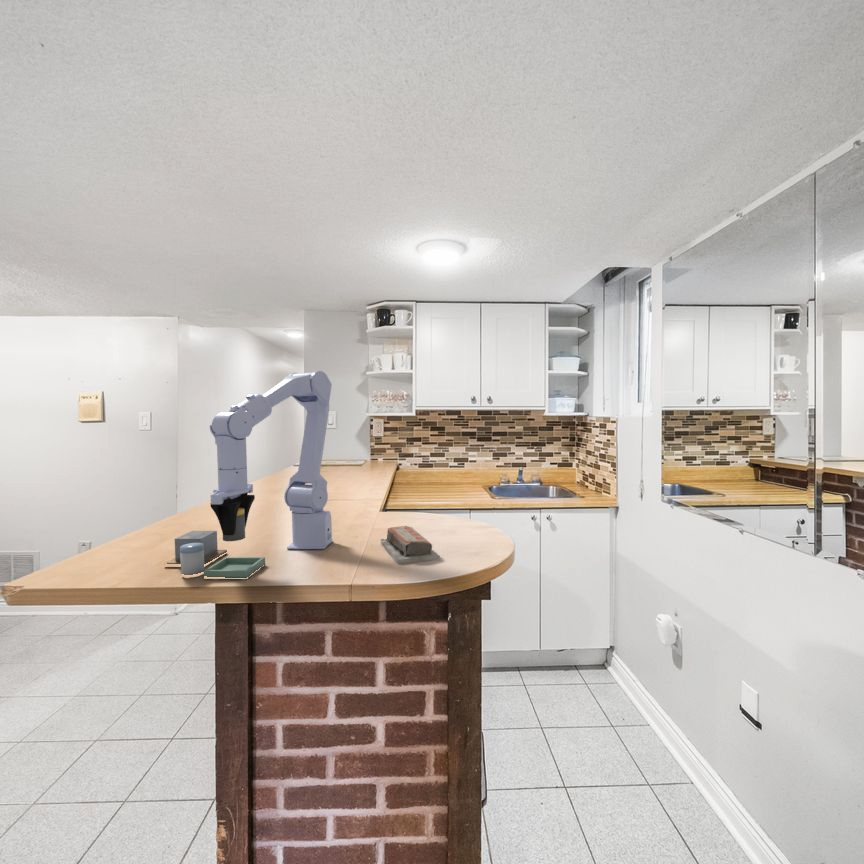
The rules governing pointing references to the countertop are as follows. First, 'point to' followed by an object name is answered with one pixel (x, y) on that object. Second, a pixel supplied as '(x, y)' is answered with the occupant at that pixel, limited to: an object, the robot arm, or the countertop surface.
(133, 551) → the countertop surface
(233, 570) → the parts tray
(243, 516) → the amber part
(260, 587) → the countertop surface
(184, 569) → the blue part
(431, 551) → the packaged product
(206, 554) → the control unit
